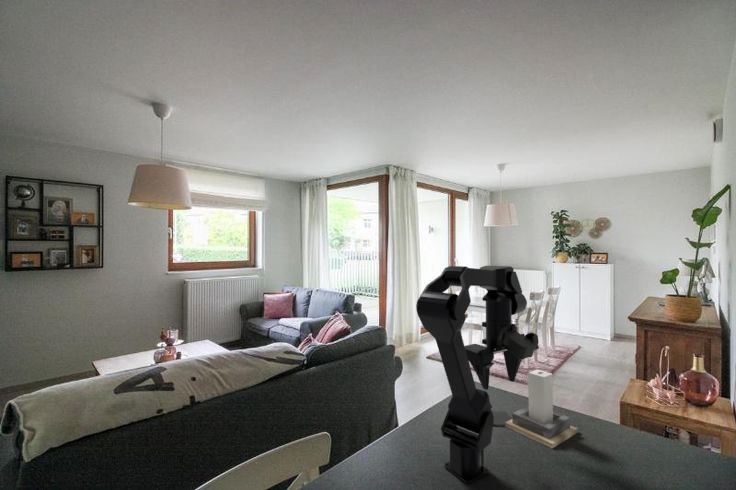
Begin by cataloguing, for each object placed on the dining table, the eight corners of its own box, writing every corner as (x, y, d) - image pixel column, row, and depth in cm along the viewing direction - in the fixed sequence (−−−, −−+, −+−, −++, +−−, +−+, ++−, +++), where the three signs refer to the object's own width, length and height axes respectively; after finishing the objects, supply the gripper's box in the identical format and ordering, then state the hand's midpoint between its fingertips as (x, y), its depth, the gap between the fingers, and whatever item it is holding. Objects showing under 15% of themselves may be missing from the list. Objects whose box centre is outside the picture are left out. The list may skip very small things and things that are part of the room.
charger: (544, 431, 85) (543, 376, 85) (528, 424, 89) (528, 371, 89) (553, 426, 88) (552, 373, 88) (537, 419, 91) (537, 368, 91)
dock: (552, 448, 80) (552, 432, 80) (505, 426, 90) (505, 412, 90) (577, 432, 86) (577, 418, 86) (531, 413, 96) (531, 400, 96)
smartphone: (452, 411, 97) (507, 410, 97) (452, 414, 97) (507, 414, 97) (458, 424, 90) (517, 424, 89) (458, 428, 90) (517, 427, 89)
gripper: (500, 330, 72) (501, 407, 71) (554, 320, 81) (555, 388, 81) (460, 321, 81) (460, 389, 81) (512, 312, 91) (513, 373, 91)
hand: (499, 385), depth 83 cm, fingers open, 9 cm apart
